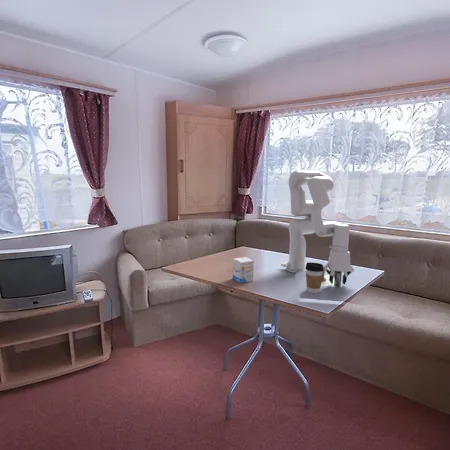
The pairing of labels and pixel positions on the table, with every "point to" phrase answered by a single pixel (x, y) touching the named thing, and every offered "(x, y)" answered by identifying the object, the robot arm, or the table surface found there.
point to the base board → (327, 282)
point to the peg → (337, 278)
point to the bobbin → (323, 277)
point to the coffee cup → (314, 277)
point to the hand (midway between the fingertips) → (337, 282)
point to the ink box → (243, 269)
